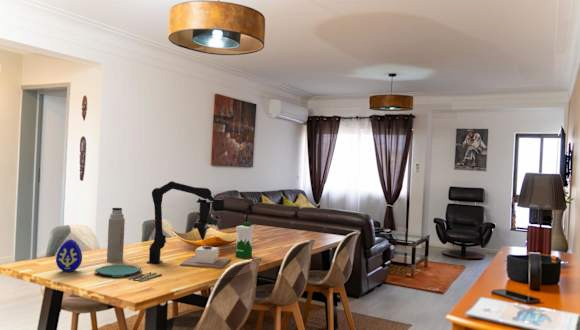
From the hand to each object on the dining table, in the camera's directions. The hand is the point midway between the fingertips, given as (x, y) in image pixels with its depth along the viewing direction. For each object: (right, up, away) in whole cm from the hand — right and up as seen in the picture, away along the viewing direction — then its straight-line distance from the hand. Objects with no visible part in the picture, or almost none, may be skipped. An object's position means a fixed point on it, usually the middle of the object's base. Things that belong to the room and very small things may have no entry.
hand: (202, 239), depth 254 cm
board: (+2, -12, -1) cm, 13 cm away
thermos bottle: (-46, -10, -6) cm, 47 cm away
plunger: (+2, -11, -1) cm, 11 cm away
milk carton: (+20, -13, +20) cm, 31 cm away
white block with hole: (+2, -12, -1) cm, 13 cm away
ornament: (-57, -10, -33) cm, 67 cm away
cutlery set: (-30, -12, -34) cm, 47 cm away
